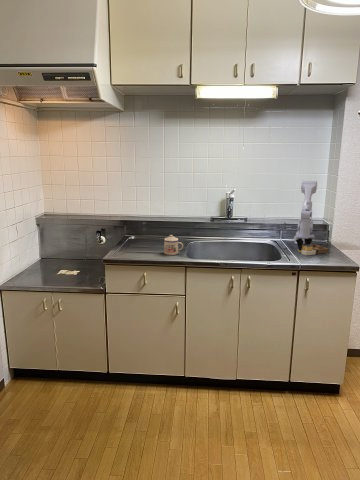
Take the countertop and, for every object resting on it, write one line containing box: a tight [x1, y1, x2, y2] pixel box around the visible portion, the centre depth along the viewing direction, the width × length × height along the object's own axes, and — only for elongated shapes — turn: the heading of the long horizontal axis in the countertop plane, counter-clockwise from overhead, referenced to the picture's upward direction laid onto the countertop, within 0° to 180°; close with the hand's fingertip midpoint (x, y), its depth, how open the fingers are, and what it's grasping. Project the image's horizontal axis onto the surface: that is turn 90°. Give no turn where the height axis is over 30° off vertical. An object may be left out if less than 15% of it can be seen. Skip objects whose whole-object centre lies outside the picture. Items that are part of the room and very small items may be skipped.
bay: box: [300, 249, 317, 256], centre depth 231 cm, size 4×8×2 cm, turn 111°
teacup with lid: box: [163, 234, 184, 256], centre depth 227 cm, size 12×9×12 cm
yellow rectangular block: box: [297, 243, 313, 253], centre depth 233 cm, size 9×4×5 cm, turn 21°
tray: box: [311, 243, 330, 254], centre depth 239 cm, size 13×9×2 cm
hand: (303, 249), depth 235 cm, fingers closed on yellow rectangular block, 4 cm apart
